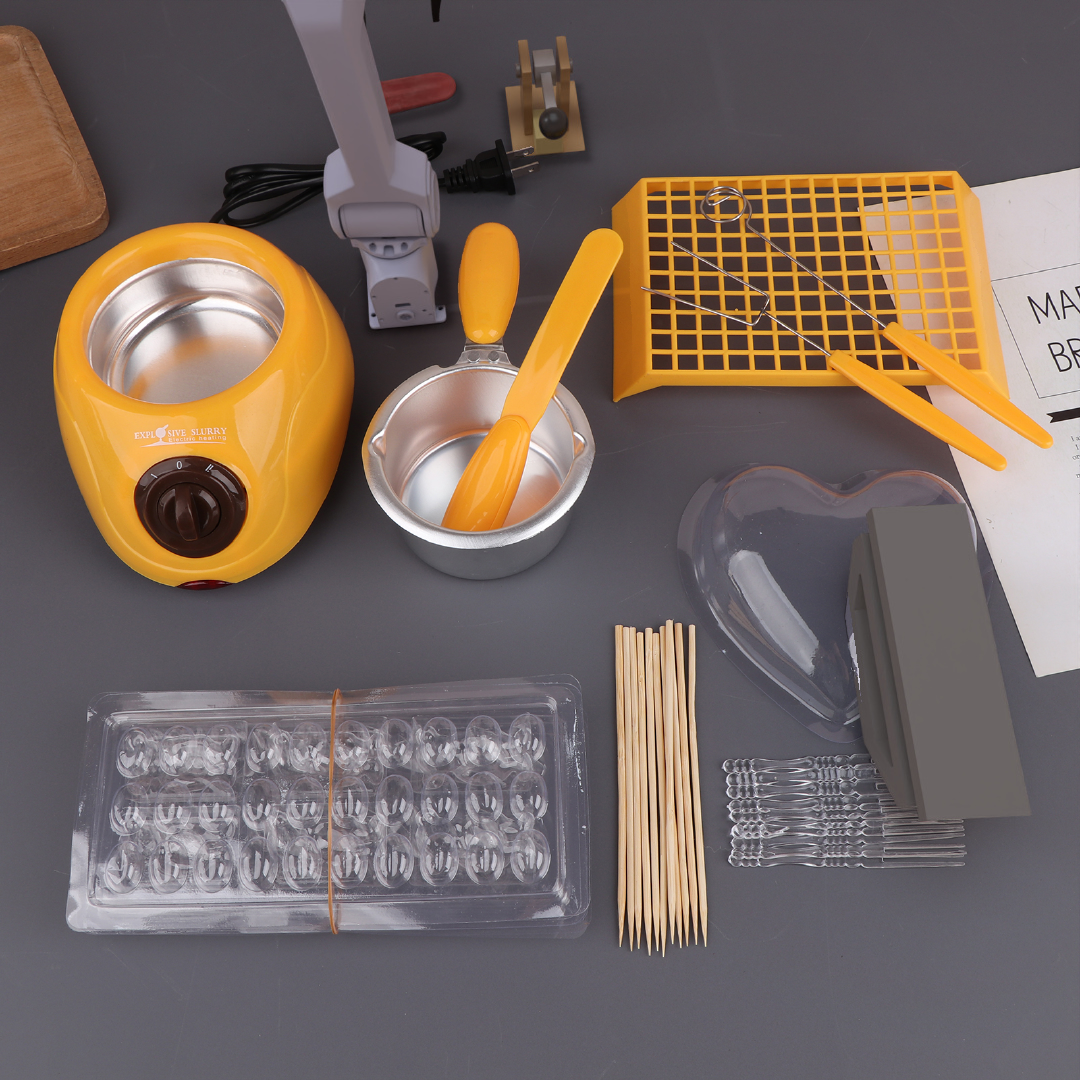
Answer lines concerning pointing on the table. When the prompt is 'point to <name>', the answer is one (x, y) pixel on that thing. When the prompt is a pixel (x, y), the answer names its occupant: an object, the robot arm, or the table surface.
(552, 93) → the knife lever
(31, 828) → the table surface
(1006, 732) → the grey stepped block
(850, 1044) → the table surface
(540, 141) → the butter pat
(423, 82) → the popsicle
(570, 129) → the wooden lever stand
